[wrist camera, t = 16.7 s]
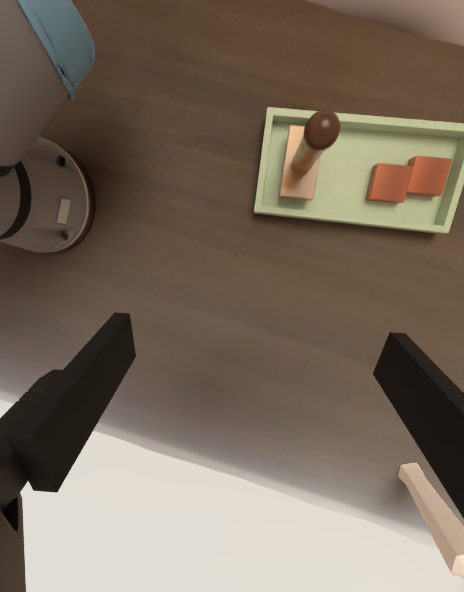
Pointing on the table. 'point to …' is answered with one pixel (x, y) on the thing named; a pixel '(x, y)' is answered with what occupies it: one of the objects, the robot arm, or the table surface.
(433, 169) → the orange square block
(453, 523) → the perfume bottle
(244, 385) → the table surface
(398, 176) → the chip
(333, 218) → the tray
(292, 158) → the wooden handle stamp
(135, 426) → the table surface
